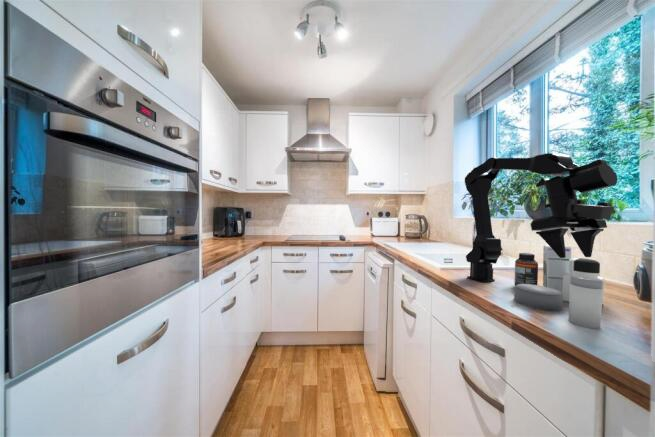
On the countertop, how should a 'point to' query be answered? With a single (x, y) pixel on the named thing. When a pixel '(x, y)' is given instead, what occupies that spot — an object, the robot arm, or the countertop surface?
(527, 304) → the charcoal stand
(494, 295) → the countertop surface
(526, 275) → the supplement bottle
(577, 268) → the medicine bottle
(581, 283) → the white and grey cylinder
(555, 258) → the syrup box
